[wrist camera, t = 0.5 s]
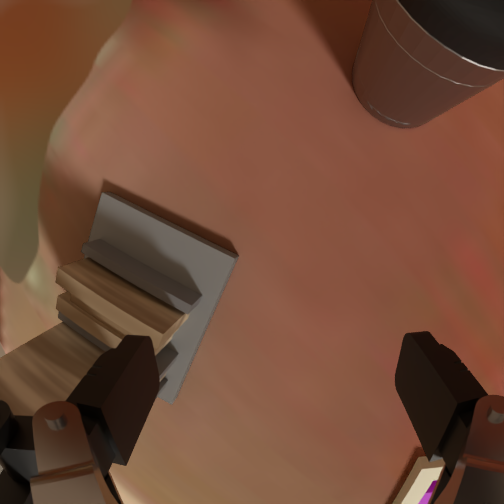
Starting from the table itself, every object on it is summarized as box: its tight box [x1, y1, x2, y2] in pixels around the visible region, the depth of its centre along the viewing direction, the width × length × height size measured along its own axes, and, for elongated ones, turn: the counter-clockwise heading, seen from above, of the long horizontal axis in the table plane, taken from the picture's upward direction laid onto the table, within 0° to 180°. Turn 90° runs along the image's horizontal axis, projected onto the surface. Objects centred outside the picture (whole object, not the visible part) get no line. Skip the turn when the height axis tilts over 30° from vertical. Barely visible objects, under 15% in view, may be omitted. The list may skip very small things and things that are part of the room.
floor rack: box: [58, 192, 239, 405], centre depth 32 cm, size 20×16×6 cm
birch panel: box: [0, 322, 167, 416], centre depth 25 cm, size 2×12×20 cm, turn 66°
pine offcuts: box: [56, 257, 190, 356], centre depth 30 cm, size 5×12×7 cm, turn 66°
